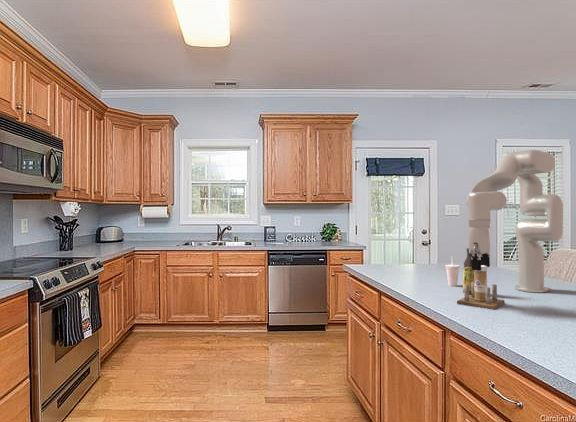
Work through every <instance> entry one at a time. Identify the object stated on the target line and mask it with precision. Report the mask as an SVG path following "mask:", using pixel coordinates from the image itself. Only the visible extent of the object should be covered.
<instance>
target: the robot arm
mask: <svg viewBox="0 0 576 422" xmlns="http://www.w3.org/2000/svg"><path fill="white" fill-rule="evenodd" d="M555 166H556V159H555V157H554V155H553V154H551V153H550V152H547V151H543V150H537V149H528V150H519V151H513V152H512V151H511V152H509V153H507V154H506V155H504V156H503V158H502V159H501V161H500V163H499V164H498V165H497V167H496V169H495V171H494V172H493V173H491V174H489V175H488V176H486V177H484V178H483V179H481V180H479V181H478V182H477V183H475V185H473V187H472V188H471V190H470V191H469V193H468V195H467V197H466V206H467V209H468V229H469V235H468V248H469V253H470V254H471V256H472V257H471V260H472V270H477V271H481V265H485V266H487V268H490V267H491V264H490V263H491V262H490V260H491V259H490V257H491V256H490V251H491V242H490V241H491V240H490V239H491V238H490V229H491V228H492V227H491V211H500V210H503V209H504V208H505V207H506V205H507V201H508V198H507V195H505V194H504V193H503V192H501V190H504V189H508V188H509V187H511V186H513V185H514V183H515V182H516V180H517V181H518V185H519V210H520V213H521V214H522V215H523V216H527V217H547V219H546V218H545V219H543V218H542V219H541V218H540V219H539V218H527V219H526V218H525V219H521V220H519V221H517V223H516V224H515V235H516V240H517V247H518V284H516V285H515V286H514V289H515V290H517V291H522V292H527V293H547V292H549V290H550V289H549V288H548V287H546V286H545V262H544V261H545V260H544V259H545V258H544V257H545V256H544V255H545V254H544V249H543V247H542V245H541V244H540V243H539V242H558V241H560V240H561V239H562V237H563V232H564V225H563V224H564V204H563V200H562V198H561V197H560V196H559V195H558V194H553V193H551V194H550V193H546V194H543V191H544V190H543V182H542V180H541V179H540V178H539V176H537V175H539V174H547V173H551V172H552V171H553V170H554V168H555Z"/></svg>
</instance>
